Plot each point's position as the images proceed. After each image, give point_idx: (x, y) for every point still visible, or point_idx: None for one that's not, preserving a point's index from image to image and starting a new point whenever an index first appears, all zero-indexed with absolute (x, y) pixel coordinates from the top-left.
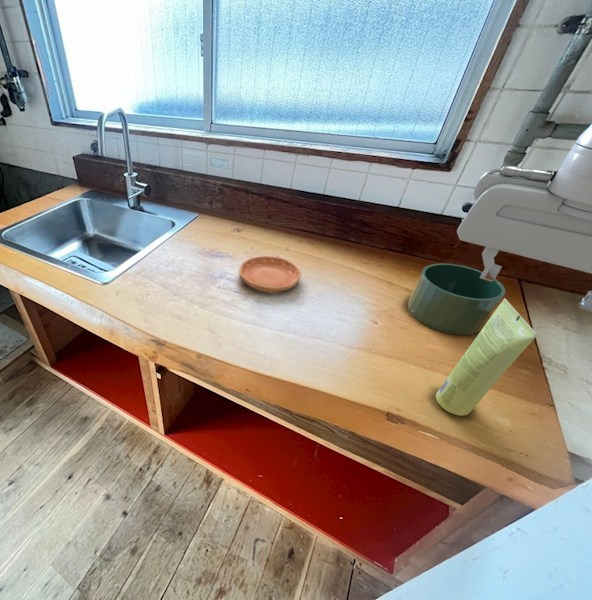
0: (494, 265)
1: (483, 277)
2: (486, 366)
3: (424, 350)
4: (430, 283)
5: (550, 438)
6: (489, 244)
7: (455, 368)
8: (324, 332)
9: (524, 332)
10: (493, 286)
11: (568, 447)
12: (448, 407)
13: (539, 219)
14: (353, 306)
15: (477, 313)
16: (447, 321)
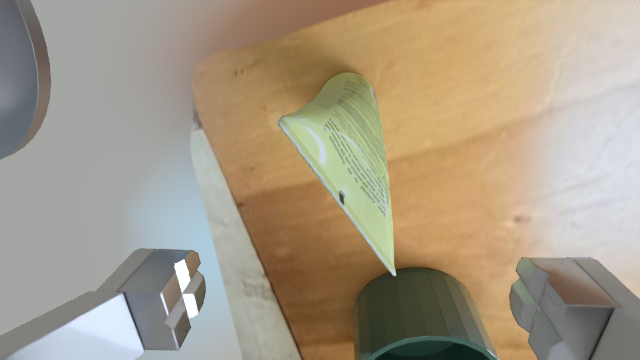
0: (584, 357)
1: (579, 260)
2: (341, 93)
3: (417, 202)
4: (485, 349)
5: (223, 135)
6: None
7: (379, 116)
8: (623, 115)
9: (310, 142)
10: None
11: (203, 135)
12: (350, 73)
13: None
14: (574, 240)
15: (376, 321)
16: (408, 286)
